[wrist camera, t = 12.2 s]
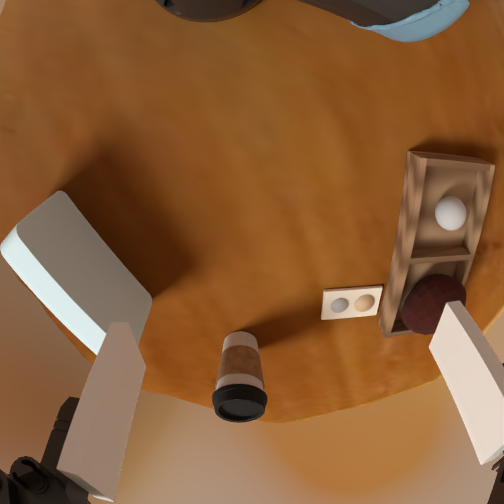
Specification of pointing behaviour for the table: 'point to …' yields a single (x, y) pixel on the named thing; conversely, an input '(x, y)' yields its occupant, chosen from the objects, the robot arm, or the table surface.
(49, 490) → the robot arm
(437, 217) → the ball
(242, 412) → the coffee cup
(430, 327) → the dark brown ovoid
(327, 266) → the table surface
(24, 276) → the white rounded block
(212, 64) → the table surface
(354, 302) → the tile
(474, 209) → the divided wooden tray
